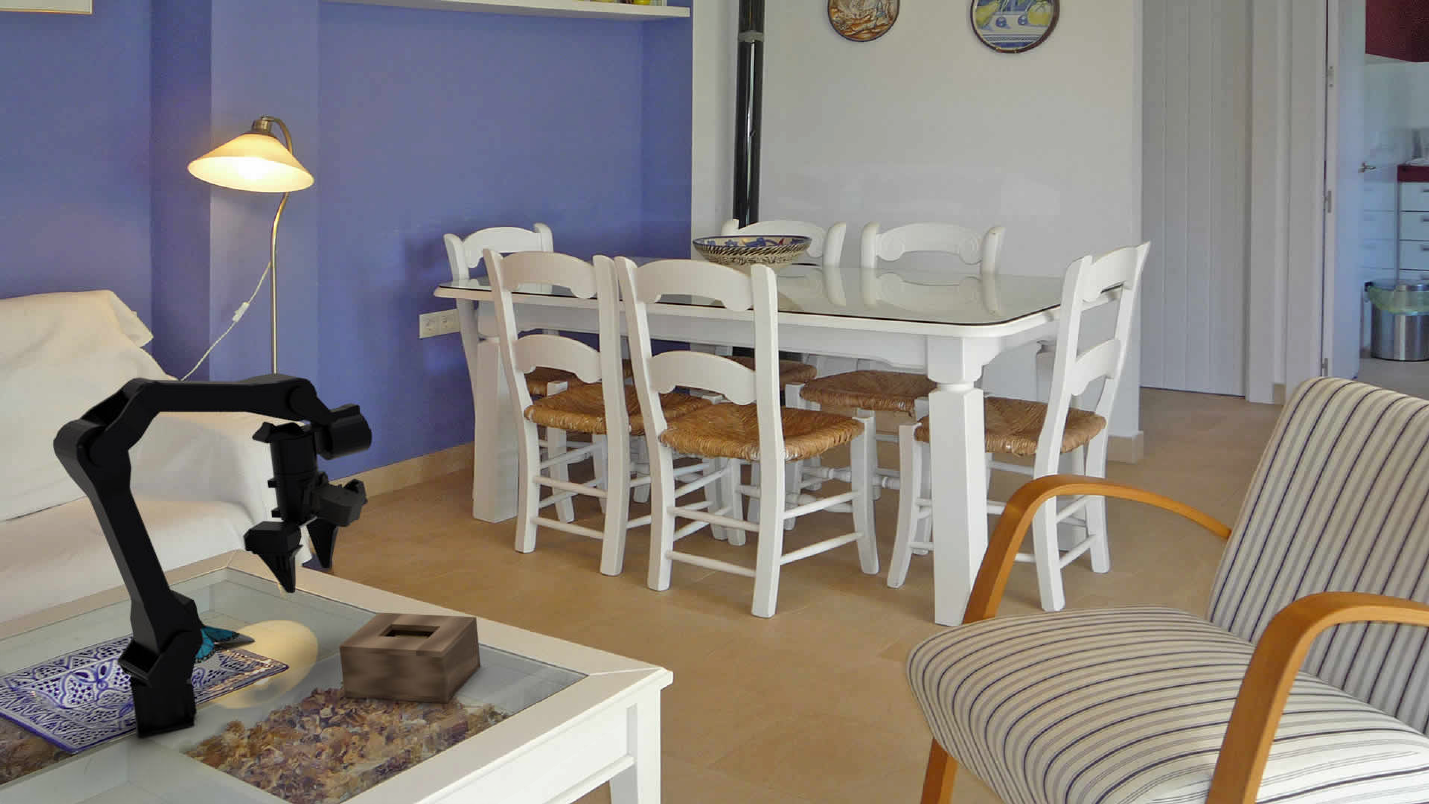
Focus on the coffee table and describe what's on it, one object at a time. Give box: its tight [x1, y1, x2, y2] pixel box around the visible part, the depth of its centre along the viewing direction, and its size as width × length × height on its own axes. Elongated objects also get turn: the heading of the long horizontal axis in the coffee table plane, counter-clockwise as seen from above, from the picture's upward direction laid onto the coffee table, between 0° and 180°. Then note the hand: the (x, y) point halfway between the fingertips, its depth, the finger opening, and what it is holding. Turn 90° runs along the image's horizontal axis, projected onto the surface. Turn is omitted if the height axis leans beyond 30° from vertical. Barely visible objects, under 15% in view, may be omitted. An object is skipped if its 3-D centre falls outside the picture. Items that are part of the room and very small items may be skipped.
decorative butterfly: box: [194, 613, 256, 672], centre depth 175 cm, size 10×6×10 cm
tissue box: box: [338, 612, 482, 704], centre depth 164 cm, size 14×11×7 cm
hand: (309, 579), depth 169 cm, fingers open, 9 cm apart
